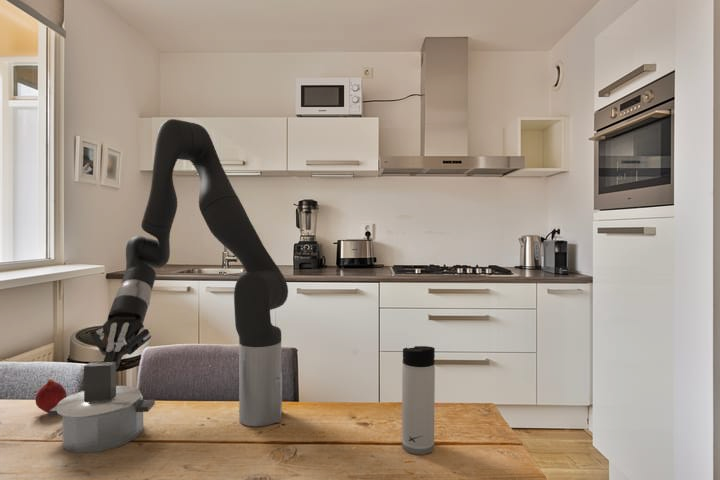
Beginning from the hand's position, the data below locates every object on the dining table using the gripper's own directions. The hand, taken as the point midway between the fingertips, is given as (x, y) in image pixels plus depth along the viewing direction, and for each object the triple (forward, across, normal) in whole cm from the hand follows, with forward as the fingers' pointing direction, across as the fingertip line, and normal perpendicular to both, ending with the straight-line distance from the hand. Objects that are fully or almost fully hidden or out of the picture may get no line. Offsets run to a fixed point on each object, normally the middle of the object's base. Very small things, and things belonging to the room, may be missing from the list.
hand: (109, 370), depth 94 cm
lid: (+7, 0, +1) cm, 7 cm away
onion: (+2, -17, +16) cm, 23 cm away
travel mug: (+20, +63, -2) cm, 66 cm away
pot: (+11, 0, +7) cm, 13 cm away
